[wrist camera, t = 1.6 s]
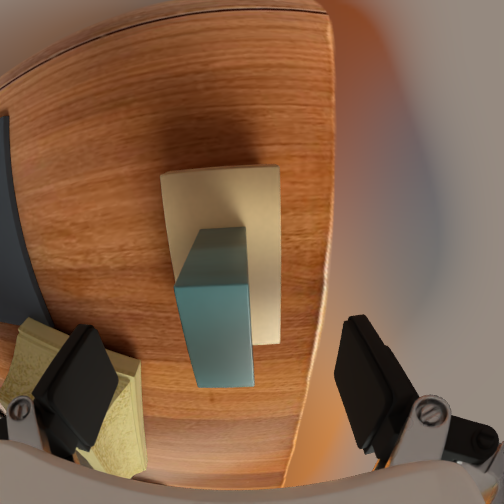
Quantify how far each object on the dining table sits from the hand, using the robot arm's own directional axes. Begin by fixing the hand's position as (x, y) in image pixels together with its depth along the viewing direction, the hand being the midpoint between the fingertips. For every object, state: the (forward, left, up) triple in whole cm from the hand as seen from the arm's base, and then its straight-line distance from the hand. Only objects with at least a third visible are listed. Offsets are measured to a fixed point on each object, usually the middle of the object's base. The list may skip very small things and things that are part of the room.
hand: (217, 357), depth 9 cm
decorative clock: (+21, -19, -9) cm, 29 cm away
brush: (0, 0, -10) cm, 10 cm away
